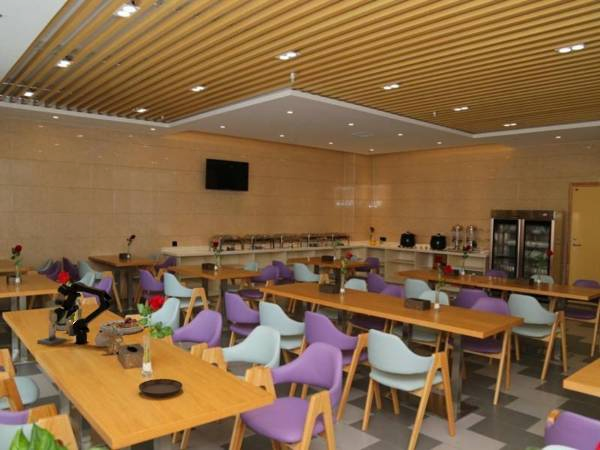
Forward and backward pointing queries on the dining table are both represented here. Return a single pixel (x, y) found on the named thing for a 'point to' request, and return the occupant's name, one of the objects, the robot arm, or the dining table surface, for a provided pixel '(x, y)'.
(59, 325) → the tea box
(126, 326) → the bowl
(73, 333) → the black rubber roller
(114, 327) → the flower vase
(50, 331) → the steel roller
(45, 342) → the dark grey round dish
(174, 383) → the plant saucer
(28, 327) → the dining table surface
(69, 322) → the brass bushing
